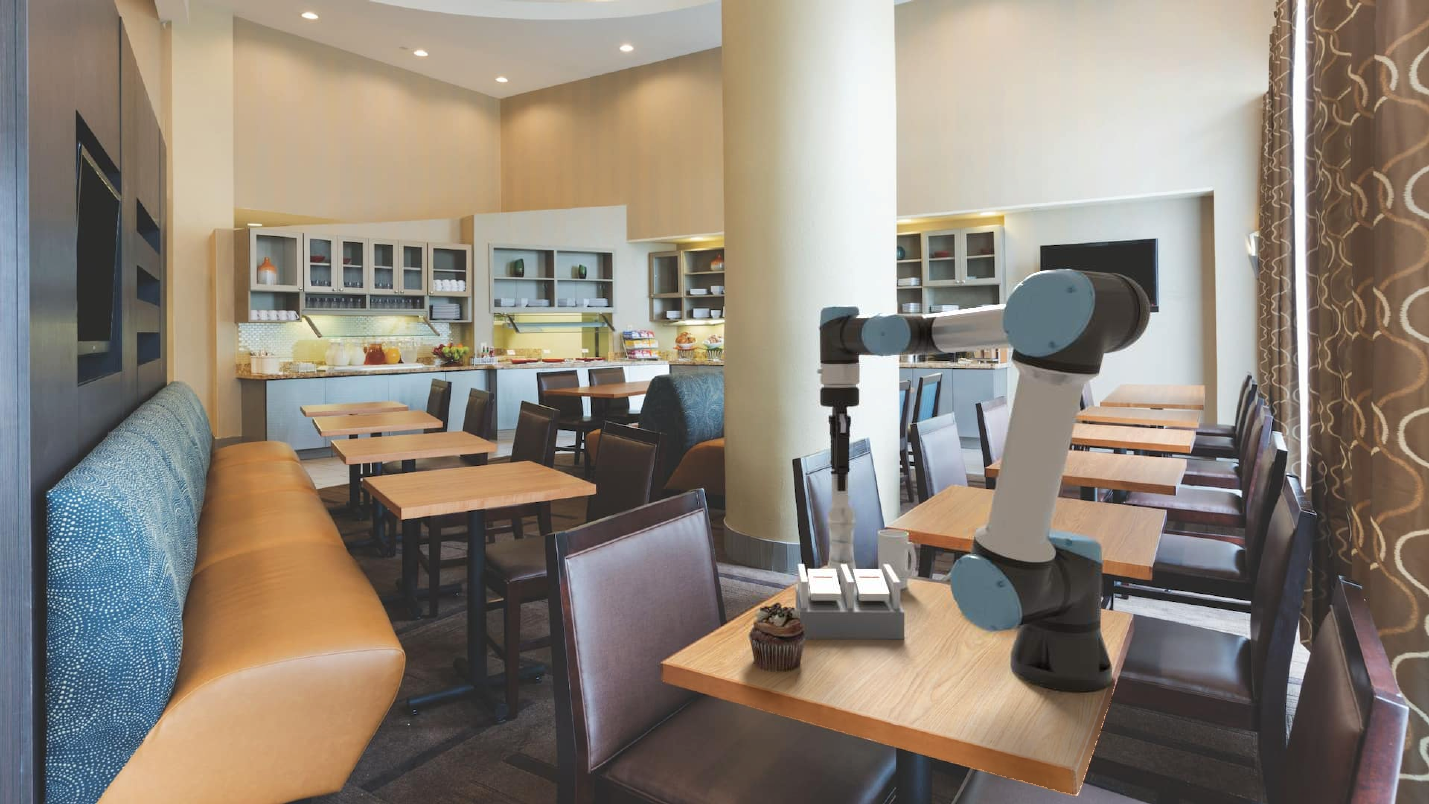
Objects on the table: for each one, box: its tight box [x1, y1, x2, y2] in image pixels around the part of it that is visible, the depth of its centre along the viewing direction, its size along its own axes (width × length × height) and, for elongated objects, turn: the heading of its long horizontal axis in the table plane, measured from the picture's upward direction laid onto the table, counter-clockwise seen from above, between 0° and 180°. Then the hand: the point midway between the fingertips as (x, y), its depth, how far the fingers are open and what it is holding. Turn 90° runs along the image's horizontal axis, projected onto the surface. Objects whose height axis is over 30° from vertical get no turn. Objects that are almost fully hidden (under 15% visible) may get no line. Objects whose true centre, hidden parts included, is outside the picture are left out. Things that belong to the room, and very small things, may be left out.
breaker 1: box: [807, 568, 841, 601], centre depth 150 cm, size 10×6×2 cm, turn 177°
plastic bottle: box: [826, 493, 857, 582], centre depth 177 cm, size 6×7×20 cm
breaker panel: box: [795, 563, 905, 640], centre depth 150 cm, size 16×19×10 cm
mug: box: [877, 529, 917, 590], centre depth 172 cm, size 10×7×12 cm, turn 32°
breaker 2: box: [853, 568, 889, 601], centre depth 149 cm, size 10×6×2 cm, turn 177°
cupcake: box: [748, 602, 806, 673], centre depth 132 cm, size 10×10×10 cm
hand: (839, 504), depth 152 cm, fingers open, 3 cm apart
